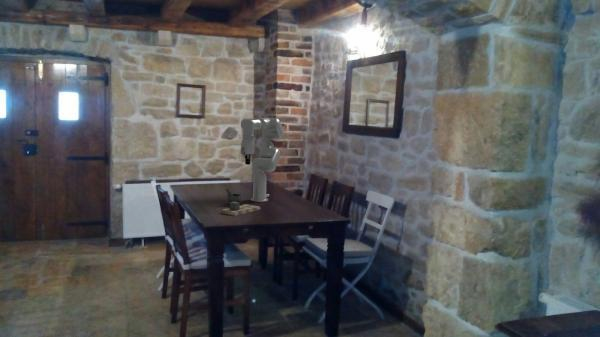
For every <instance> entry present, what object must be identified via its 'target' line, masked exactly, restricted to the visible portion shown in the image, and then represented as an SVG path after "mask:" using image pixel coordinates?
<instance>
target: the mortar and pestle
mask: <svg viewBox="0 0 600 337" xmlns="http://www.w3.org/2000/svg"><path fill="white" fill-rule="evenodd" d="M225 191H226V193H227V200H228V202H229V203H230V202H239V203H240V201H241V199H242V195H241V194H240V193H233V192H231V190H230V188H229V187H227V188H226V189H225Z"/></svg>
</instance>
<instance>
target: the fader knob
mask: <svg viewBox="0 0 600 337" xmlns="http://www.w3.org/2000/svg"><path fill="white" fill-rule="evenodd" d="M240 206H241V203H240V201H239V202H229V208H230V209H231V210H239V209H240Z"/></svg>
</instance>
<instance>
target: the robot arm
mask: <svg viewBox="0 0 600 337" xmlns="http://www.w3.org/2000/svg"><path fill="white" fill-rule="evenodd" d="M240 128H241V129H242V139H241V143H240V154H241V156H242V157H244V159H245V160H244V164H245V165H247V166H248V165H251V159H252V156H254V154H255V148H256V147H255V139H254V138H255V136H254V134H255V131H262V132H261V136H262V137H261V138H262V146H261V149H260V151H259V153H258V157H255V158H254V159H253V160H252V165H251V166H252V171H253V174H252V175H253V179H252V180H253V186H252V187H253V188H252V198H251V199H250V201H252V202H257V203H259V202H260V203H261V202H262V203H265V202H268V201H269V198H268V197H270V194H269V193H267V175H266V173H265V172H275V171H276V169H277V167H278V164H279V162H280V160H281V152H280V149H278V148H275V145H274V143H273V142H272V141H271V140H283V139H284V137H285V130H284V128H283V125H282V123H281V120H279V119H278V118H276V117H273V118H272V117H257V118H255V117H254V118H243V119H242V120H241V122H240Z"/></svg>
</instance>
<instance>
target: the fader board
mask: <svg viewBox="0 0 600 337" xmlns="http://www.w3.org/2000/svg"><path fill="white" fill-rule="evenodd" d="M259 210H261V205H260V206H259V205H255V204H248V203H245V204H242V205H241V204H240V209H239V210H231V209H230V207H229V208H228V207H227V208H223V209H220V214H225V215H230V216H239V215H243V214H246V213H250V212H252V213H253V212H256V211H259Z"/></svg>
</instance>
